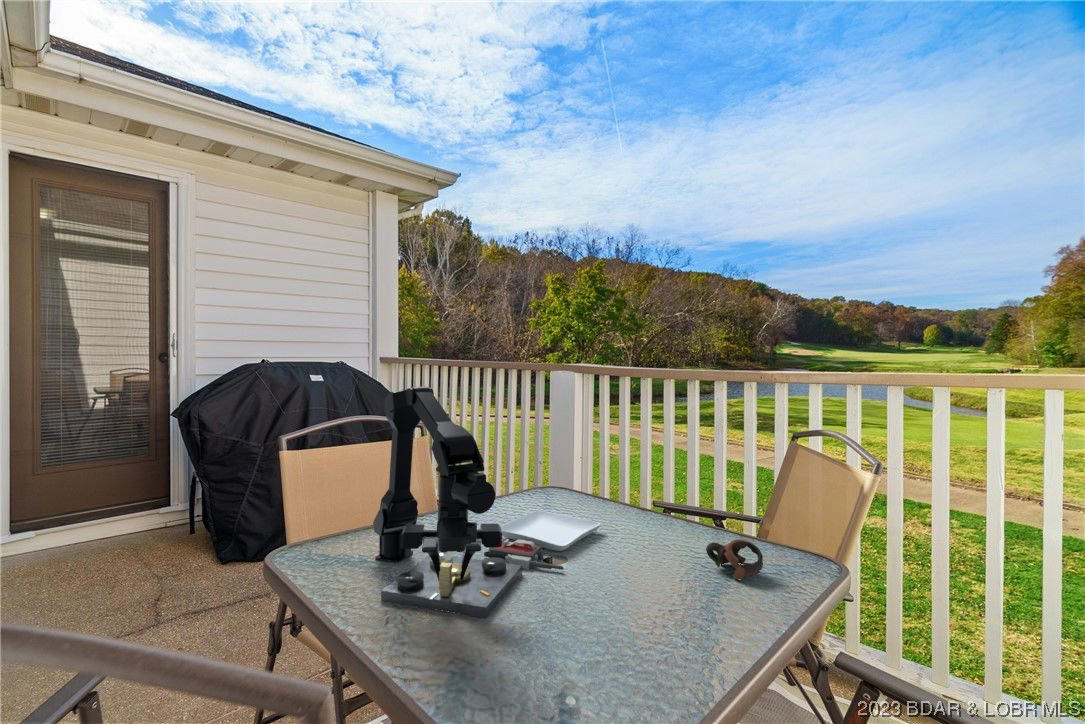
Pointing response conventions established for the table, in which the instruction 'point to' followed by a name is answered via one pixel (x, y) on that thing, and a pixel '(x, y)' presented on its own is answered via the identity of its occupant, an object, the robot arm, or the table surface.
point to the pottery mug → (736, 557)
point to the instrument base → (455, 586)
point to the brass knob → (451, 577)
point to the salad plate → (549, 529)
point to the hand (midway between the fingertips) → (450, 579)
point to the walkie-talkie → (520, 554)
